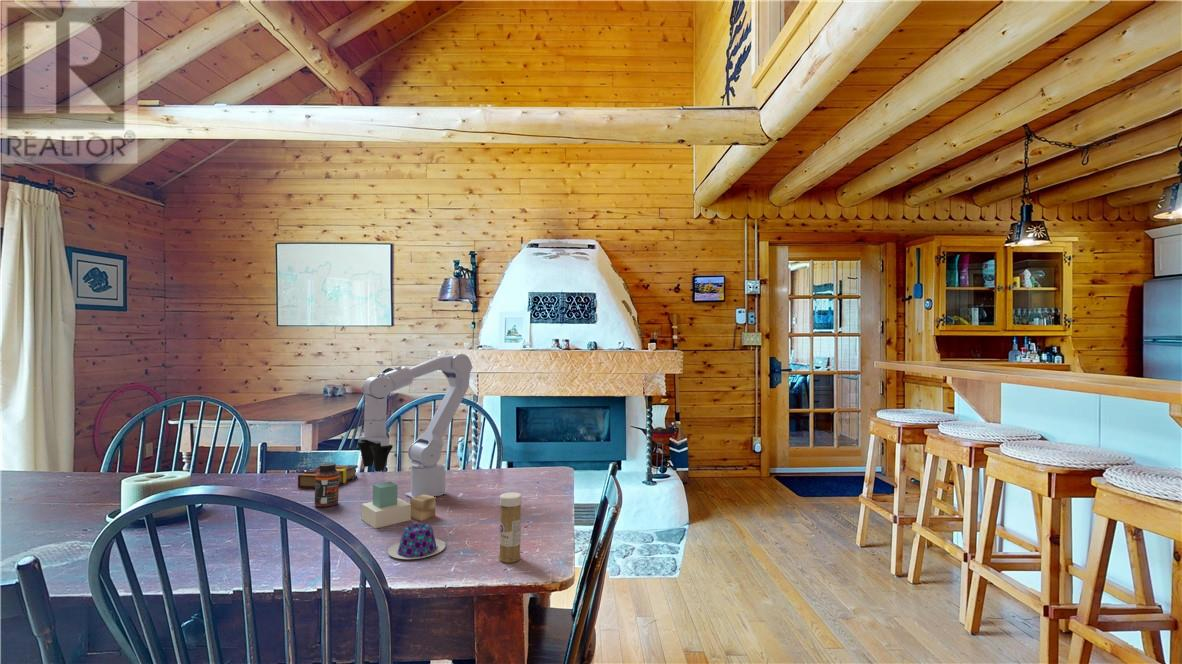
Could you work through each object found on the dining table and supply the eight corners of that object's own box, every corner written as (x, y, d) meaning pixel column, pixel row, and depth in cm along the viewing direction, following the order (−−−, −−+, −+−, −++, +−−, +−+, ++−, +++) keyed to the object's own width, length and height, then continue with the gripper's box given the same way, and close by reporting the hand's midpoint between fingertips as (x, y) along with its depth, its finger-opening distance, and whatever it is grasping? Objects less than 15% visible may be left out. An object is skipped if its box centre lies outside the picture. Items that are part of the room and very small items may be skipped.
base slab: (395, 511, 137) (396, 496, 137) (410, 520, 131) (410, 504, 131) (361, 519, 131) (361, 503, 131) (375, 528, 124) (375, 512, 124)
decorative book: (296, 489, 160) (296, 473, 160) (329, 476, 175) (329, 461, 176) (329, 490, 158) (330, 474, 158) (359, 477, 174) (360, 463, 174)
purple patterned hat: (393, 567, 103) (394, 541, 103) (383, 547, 113) (383, 523, 114) (452, 555, 109) (452, 530, 110) (437, 537, 120) (437, 514, 120)
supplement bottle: (328, 508, 140) (329, 467, 140) (309, 507, 141) (310, 465, 141) (343, 502, 145) (344, 462, 146) (324, 500, 147) (325, 461, 147)
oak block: (423, 513, 136) (423, 494, 137) (435, 516, 134) (435, 496, 134) (409, 517, 133) (410, 498, 133) (421, 520, 130) (421, 501, 130)
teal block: (390, 500, 134) (390, 481, 134) (397, 504, 130) (397, 484, 131) (372, 504, 131) (373, 484, 131) (379, 508, 127) (379, 488, 128)
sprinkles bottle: (494, 559, 107) (495, 494, 107) (511, 553, 110) (511, 490, 110) (508, 565, 104) (509, 499, 104) (525, 558, 107) (526, 494, 108)
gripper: (350, 418, 145) (349, 466, 145) (371, 423, 135) (369, 475, 135) (375, 416, 150) (374, 462, 150) (397, 421, 140) (395, 471, 140)
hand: (373, 468), depth 142 cm, fingers open, 7 cm apart
